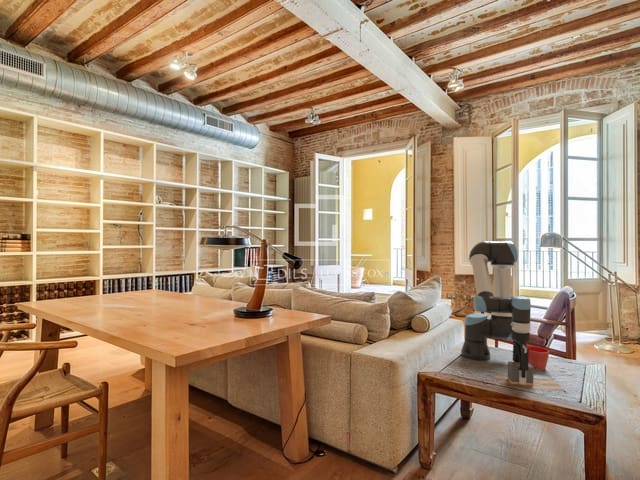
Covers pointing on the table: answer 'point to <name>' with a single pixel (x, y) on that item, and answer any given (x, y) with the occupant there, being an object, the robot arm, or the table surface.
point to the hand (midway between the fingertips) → (519, 381)
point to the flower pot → (538, 357)
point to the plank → (537, 384)
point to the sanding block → (514, 373)
